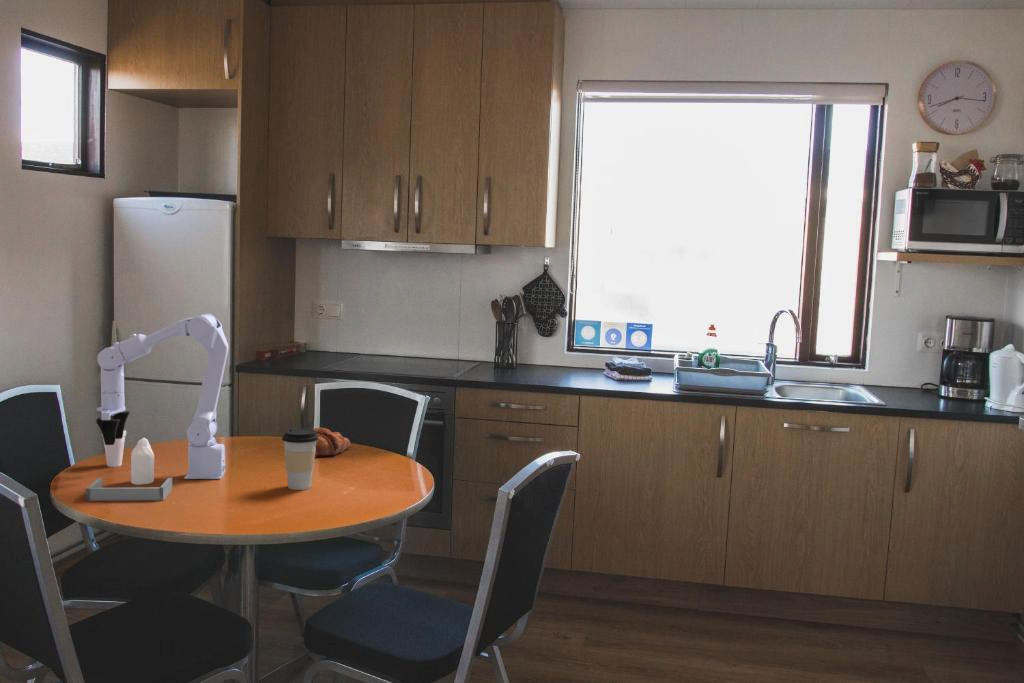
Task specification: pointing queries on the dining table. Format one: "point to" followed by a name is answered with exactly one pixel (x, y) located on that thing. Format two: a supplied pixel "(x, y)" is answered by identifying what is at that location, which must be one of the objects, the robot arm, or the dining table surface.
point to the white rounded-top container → (142, 463)
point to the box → (127, 492)
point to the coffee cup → (299, 457)
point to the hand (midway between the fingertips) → (113, 441)
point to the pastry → (330, 443)
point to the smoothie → (115, 452)
